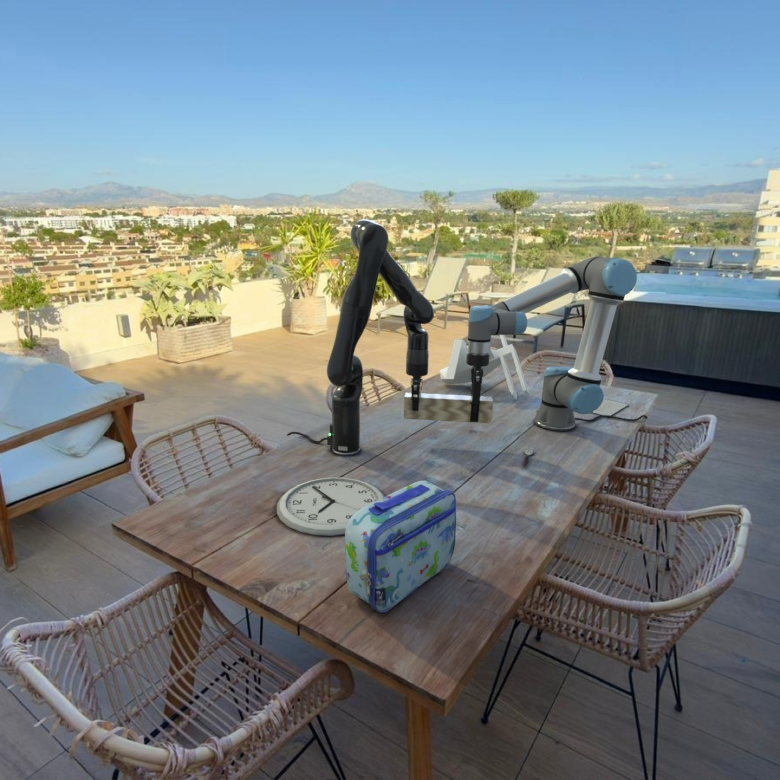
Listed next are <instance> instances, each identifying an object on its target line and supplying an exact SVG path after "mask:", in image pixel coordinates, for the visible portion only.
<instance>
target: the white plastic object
mask: <svg viewBox="0 0 780 780" xmlns="http://www.w3.org/2000/svg"><path fill="white" fill-rule="evenodd" d="M499 338H500V342H501V345H502V347H500V348H498V349H496V350H495V349H493V348H492V347H491V346H490V353H488V354H489V364H488V365H487V366H482V367H481V369H483V376H482V381H484V378H485V377H486V376H487V375H489V374H490V373H492V372H494V371H495V370H496V369H497V368H499V367H500V366H502V370H503V373H504V376H505V380H506V383H507V386H508V390H509V393H510V394H511V395H512V397H513V398H514V399H515V400H517V392H516V391H517V390H516V388H515V385H514V381H513V378H512V375H511V371H510V369H509V365H508V361H510V360H513V363H514V366H515V369H516V372H517V376H518V380H519V382H520V385H521V389H522V391H523V393H524V395H525V396H526V397H528V396H531V395H530V390H529V388H528V387H529V386H528V384H527V381H526V378H525V375H524V371H523V369H522V368H523V367H522V366H521V362H520V359H519V355H518V352H517V349H516V347H515V346H514V345H513V343H511V344H508V341H507V337H506V335H499ZM466 343H467V342H465V340H464V339H463V338H460V339H458V338H454V340H453V344H452V349H451V353H450V357H449V362H448V366H446V367H444V368H442V369H440V370H439V371H438V372H439V376H440V381H442V383H443V384H444V385H445V386H449V385H458V384H467V383H468V384H469V383H472V382H471V381H472V380H471V369H472V367H473V366H470V365H468V364H467V363H466V359H467V353H468V351H467V346H466Z"/></svg>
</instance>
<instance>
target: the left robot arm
mask: <svg viewBox="0 0 780 780" xmlns="http://www.w3.org/2000/svg"><path fill="white" fill-rule="evenodd" d="M350 241H351V243H352V245H353V246H354V248H355V249H357V250H358V251H359V252H358V259H357V265H356V268H355V272H354V273H353V274H354V275H353V276H352V278H351V280H350V281H349V283H348V285H347V286H346V288H345V291H344V293H343V296H342V300H341V305H340V310H339V318H338V322H337V327H336V331H335V338H334V343H333V345H332V348H331V353H330V355H329V358H328V362H327V366H326V375H327V379H328V380H329V382H330V383H331V384H332V385H333V386H335V390H334V391H333V393H332V394H331V423H330V424H329V433H328V436H326V437H323V438H321V439H320V440H315V439H312V438H311V437H310V436H309V435H307V434H305V433H303V432H299V431H290V432H288V433H287V434H286V436H288V437H289V436H291V435H299V436H302V437H305V438H307V440H308V441H310V442H312V443H315V444H321V443H322V442H324V441H326V444H327V445H328V446H329V451H331V452H332V453H333V454H335V455H337V456H343V457H349V456H354V455H357V454H358V453H360V451H361V438H360V437H361V432H360V431H361V422H360V421H361V412H360V410H361V408H360V407H361V405H360V404H361V403H360V401H361V400H360V399H361V396H362V392H363V379H364V369H363V364H362V361H361V359H360V358H359V357H358V355H356V354H355V351H356V348H357V345H358V342H359V340H360V339H361V337H362V336H363V333H364V331H365V330H366V328H367V326H368V324H369V320H370V317H371V312H372V308H373V304H374V297H375V293H376V288H377V284H378V278H379V276H380V277H381V279H382V280H383V281H384V283H385V284H386V286H387V287H388V289H389V290H390V292H391V293H392V295H393V296H394V297H395V299H396V300H397V302H399V304H400V305H403V306H404V308H403V322H404V326H405V330H406V334H407V340H406V341H407V345H406V355H405V356H406V357H405V358H406V359H405V373H406V375H407V376H409V377H411V378H410V393H412V398H411V399H412V410H413V411H418V410H419V400H420V398H419V394H421V393H422V390H423V381H424V379H423V378H422V377H426V376H427V375H428V374H429V357H430V355H429V353H430V352H429V332H428V331H426V330H425V329H424V328H423V327H422V325H428V324H430V323H431V322H432V321H433V319H434V317H435V310H434V307H433V305H432V303H431V302H430V300H428V299H427V297H425V295H423V294H422V293H421V292H420V291H419V290H418V289H417V288H416V286H415V284H414V283H413V282H412V280H411V278H410V276H409V275H408V274H407V272H406V271H405V270H404V269H403V268H402V267H401V266H400V265H399V263H398V262H397V261H396V260H395V259H394V258H393V256H392V255H391V254H390V252H389V251H388V245H389V233H388V231H387V229H386V228H385V227H384V226H383V225H381V224H379V223H377V222H375V221H373V220H370V219H360V220H358V221H356V222H355V223H354V224H353V225H352V227H351V230H350ZM414 395H417V397H414Z"/></svg>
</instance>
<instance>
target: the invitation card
mask: <svg viewBox="0 0 780 780" xmlns="http://www.w3.org/2000/svg"><path fill="white" fill-rule="evenodd" d="M628 406H629V404H627V403H623V402H618V401H614V400H609V399H605V398H603V402H602V404H601V405H600V406H599V408H598V409H596V410H594V411H593V412H592V413H593V414H596V415H599V416H600V415H609V416H614V414H616V413H617V412H619V411H621V410H623V409H624V408H626V407H628Z"/></svg>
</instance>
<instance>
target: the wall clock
mask: <svg viewBox="0 0 780 780" xmlns="http://www.w3.org/2000/svg"><path fill="white" fill-rule="evenodd" d="M384 497H386V495H385V494H384V493H383V492H382V491H381V490H380V489H379V488H377V487H376V486H374V485H372V484H371V483H369V482H365V481H362V480H359V479H355V478H349V477H338V476H337V477H335V476H333V477H332V476H331V477H322V478H317V479H312V480H307V481H305V482H302V483H299V484H297V485H295V486H293V487H292V488H290V489H288V490H287V491H286V492H285V493H284V494H283V495H281V496H280V498H279V499H278V502H277V503H276V515H277V517H278V518H279V520H280V521H281V522H282V523H283V524H285V525H286V526H287V527H288V528H290V529H293V530H295V531H297V532H299V533H303V534H308V535H312V536H327V537H328V536H329V537H331V536H332V537H333V536H342V535H345V531H346V527H347V524H348V522H349V520H350V518H351V517H352V515H353V514H354V513H355V512H357V511H358V510H360V509H362V508H364V507H366V506H368V505H370V504H372V503H374V502H376V501H378V500H380V499H382V498H384Z"/></svg>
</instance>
